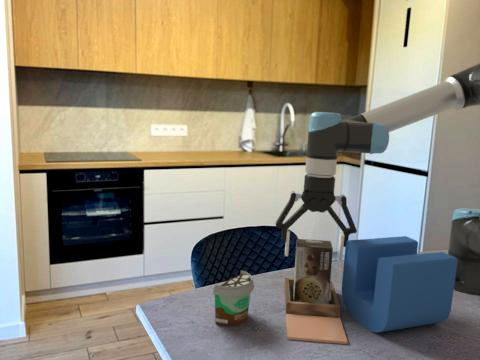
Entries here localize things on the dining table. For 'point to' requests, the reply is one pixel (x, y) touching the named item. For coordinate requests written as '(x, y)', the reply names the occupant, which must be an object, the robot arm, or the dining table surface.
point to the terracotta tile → (315, 329)
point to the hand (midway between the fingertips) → (313, 256)
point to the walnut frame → (311, 308)
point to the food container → (233, 300)
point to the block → (396, 283)
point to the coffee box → (312, 271)
